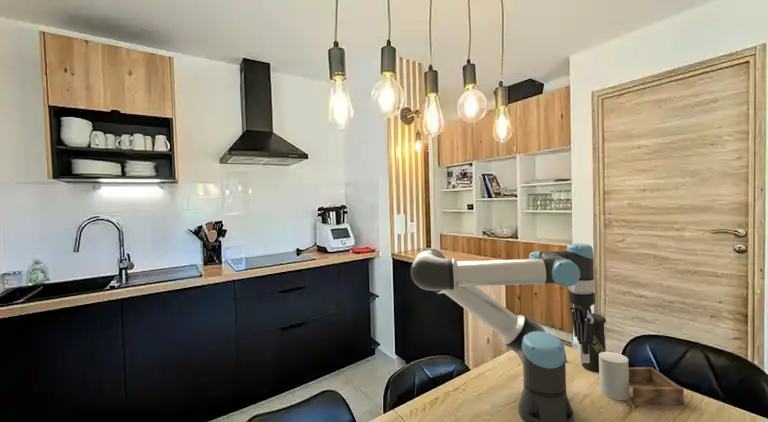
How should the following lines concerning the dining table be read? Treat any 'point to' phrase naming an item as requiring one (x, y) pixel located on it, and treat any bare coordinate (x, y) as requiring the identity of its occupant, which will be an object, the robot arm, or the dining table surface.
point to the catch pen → (654, 388)
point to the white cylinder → (614, 375)
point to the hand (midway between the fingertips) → (584, 361)
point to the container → (596, 344)
